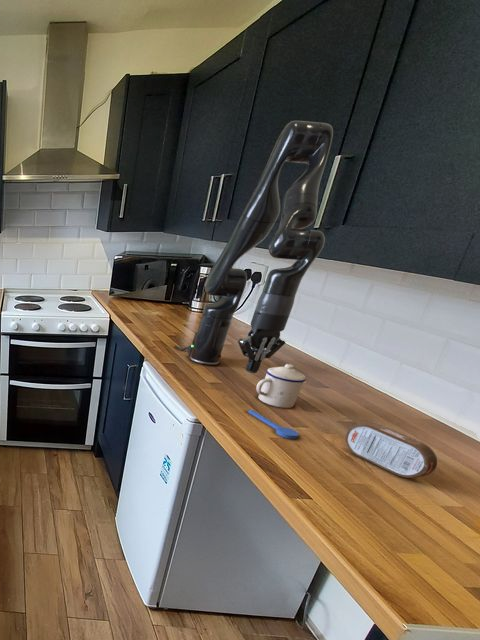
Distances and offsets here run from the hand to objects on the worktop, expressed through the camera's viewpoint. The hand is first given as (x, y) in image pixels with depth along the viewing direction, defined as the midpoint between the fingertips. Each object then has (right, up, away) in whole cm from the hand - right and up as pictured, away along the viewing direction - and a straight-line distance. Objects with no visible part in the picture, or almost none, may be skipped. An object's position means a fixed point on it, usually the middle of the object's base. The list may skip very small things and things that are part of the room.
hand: (251, 371), depth 112 cm
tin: (+12, -22, -23) cm, 34 cm away
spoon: (0, -14, -8) cm, 16 cm away
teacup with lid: (+10, -9, +6) cm, 14 cm away
